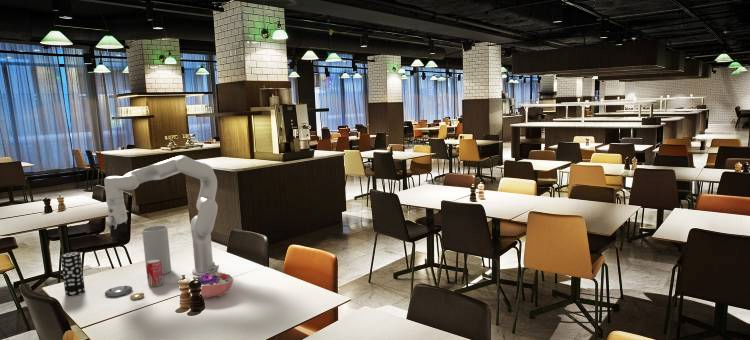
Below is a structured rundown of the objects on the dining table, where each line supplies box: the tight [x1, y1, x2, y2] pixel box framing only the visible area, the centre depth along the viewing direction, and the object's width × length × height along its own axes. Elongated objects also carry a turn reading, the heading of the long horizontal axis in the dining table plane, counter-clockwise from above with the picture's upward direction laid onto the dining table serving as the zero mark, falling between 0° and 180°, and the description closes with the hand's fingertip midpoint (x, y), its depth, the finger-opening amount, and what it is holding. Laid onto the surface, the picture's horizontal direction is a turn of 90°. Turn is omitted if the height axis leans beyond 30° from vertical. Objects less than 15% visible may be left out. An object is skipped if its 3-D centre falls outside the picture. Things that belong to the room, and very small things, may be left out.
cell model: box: [195, 272, 234, 298], centre depth 230 cm, size 17×20×11 cm
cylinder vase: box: [141, 225, 172, 275], centre depth 264 cm, size 12×12×25 cm
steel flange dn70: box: [104, 285, 133, 298], centre depth 238 cm, size 12×12×2 cm
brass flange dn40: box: [129, 292, 145, 301], centre depth 231 cm, size 6×6×1 cm
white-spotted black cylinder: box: [60, 251, 86, 297], centre depth 238 cm, size 8×8×20 cm
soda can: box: [145, 259, 164, 288], centre depth 246 cm, size 7×7×13 cm
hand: (119, 234), depth 242 cm, fingers open, 9 cm apart
